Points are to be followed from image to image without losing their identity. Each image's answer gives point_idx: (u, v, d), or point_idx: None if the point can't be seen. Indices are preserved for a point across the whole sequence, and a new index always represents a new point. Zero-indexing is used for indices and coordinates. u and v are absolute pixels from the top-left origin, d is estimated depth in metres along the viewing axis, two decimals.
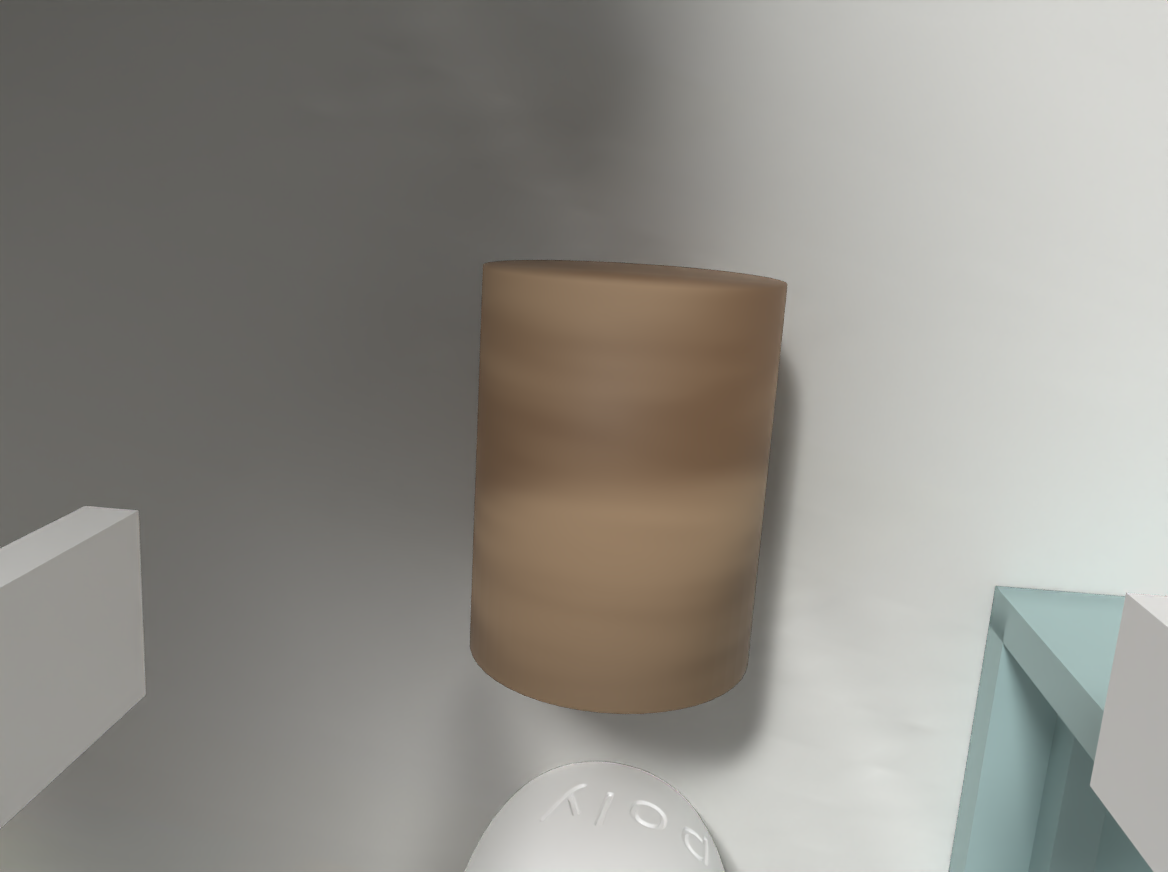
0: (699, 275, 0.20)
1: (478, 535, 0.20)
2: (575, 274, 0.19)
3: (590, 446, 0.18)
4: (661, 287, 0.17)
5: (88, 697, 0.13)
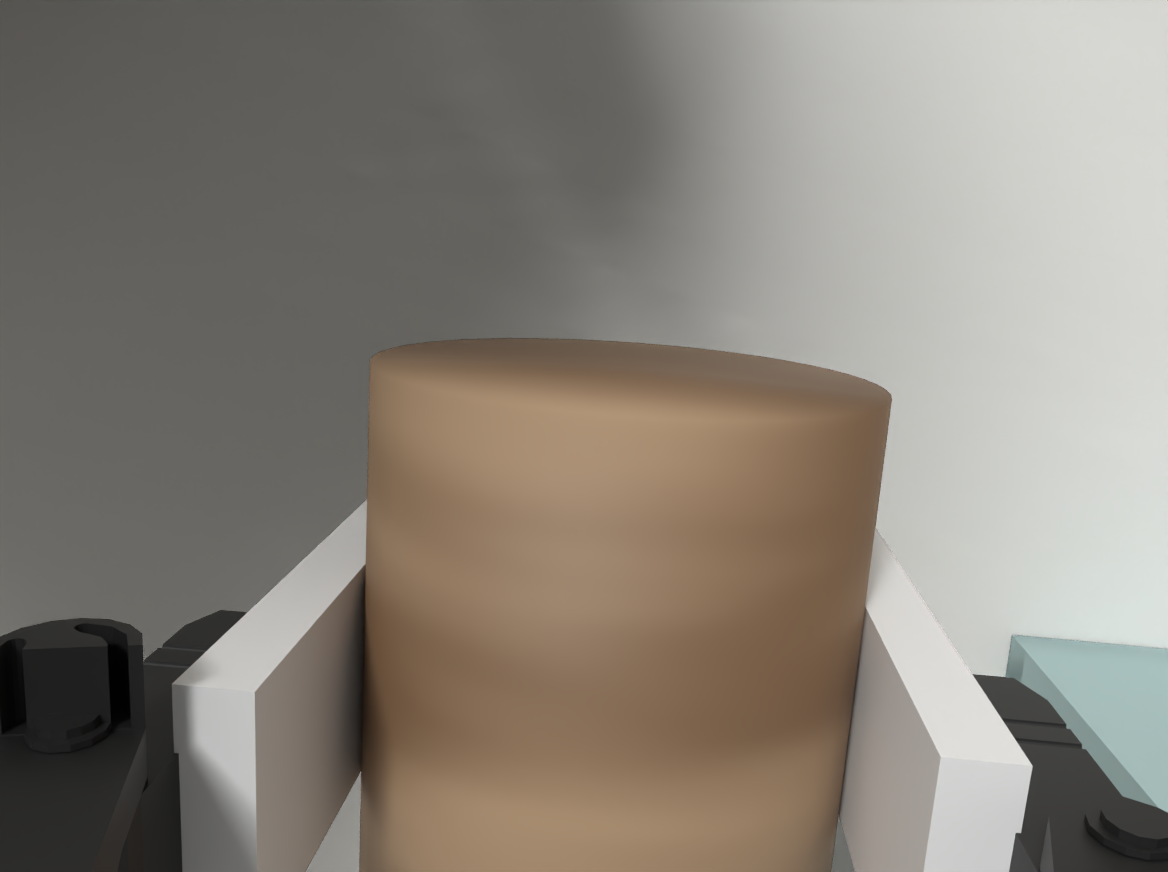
0: (737, 373, 0.12)
1: (363, 809, 0.12)
2: (524, 380, 0.11)
3: (543, 704, 0.10)
4: (677, 419, 0.09)
5: None
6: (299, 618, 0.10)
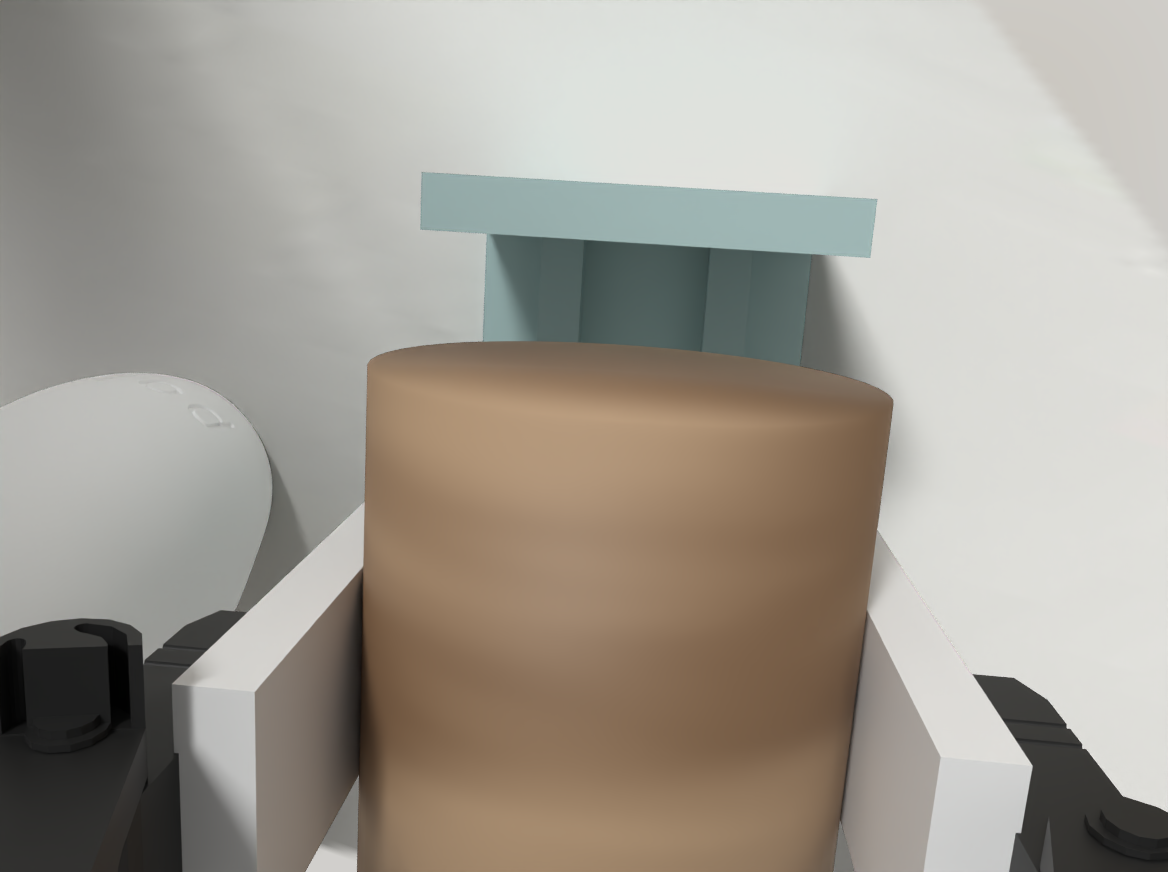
0: (737, 377, 0.12)
1: (360, 816, 0.12)
2: (522, 384, 0.11)
3: (541, 713, 0.10)
4: (677, 424, 0.09)
5: None
6: (299, 618, 0.10)
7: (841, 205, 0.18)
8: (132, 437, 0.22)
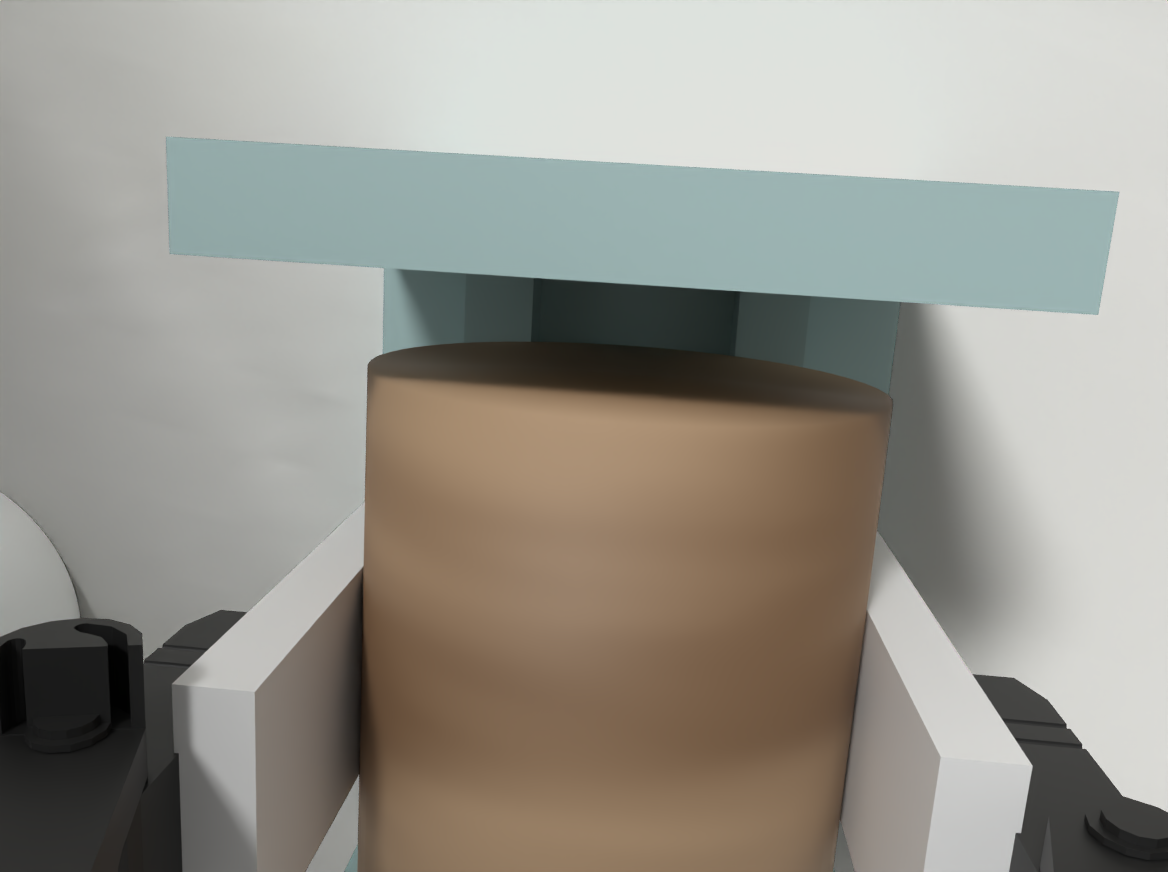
0: (737, 377, 0.12)
1: (361, 817, 0.12)
2: (523, 385, 0.11)
3: (541, 713, 0.10)
4: (677, 425, 0.09)
5: None
6: (299, 618, 0.10)
7: (1040, 205, 0.08)
8: None
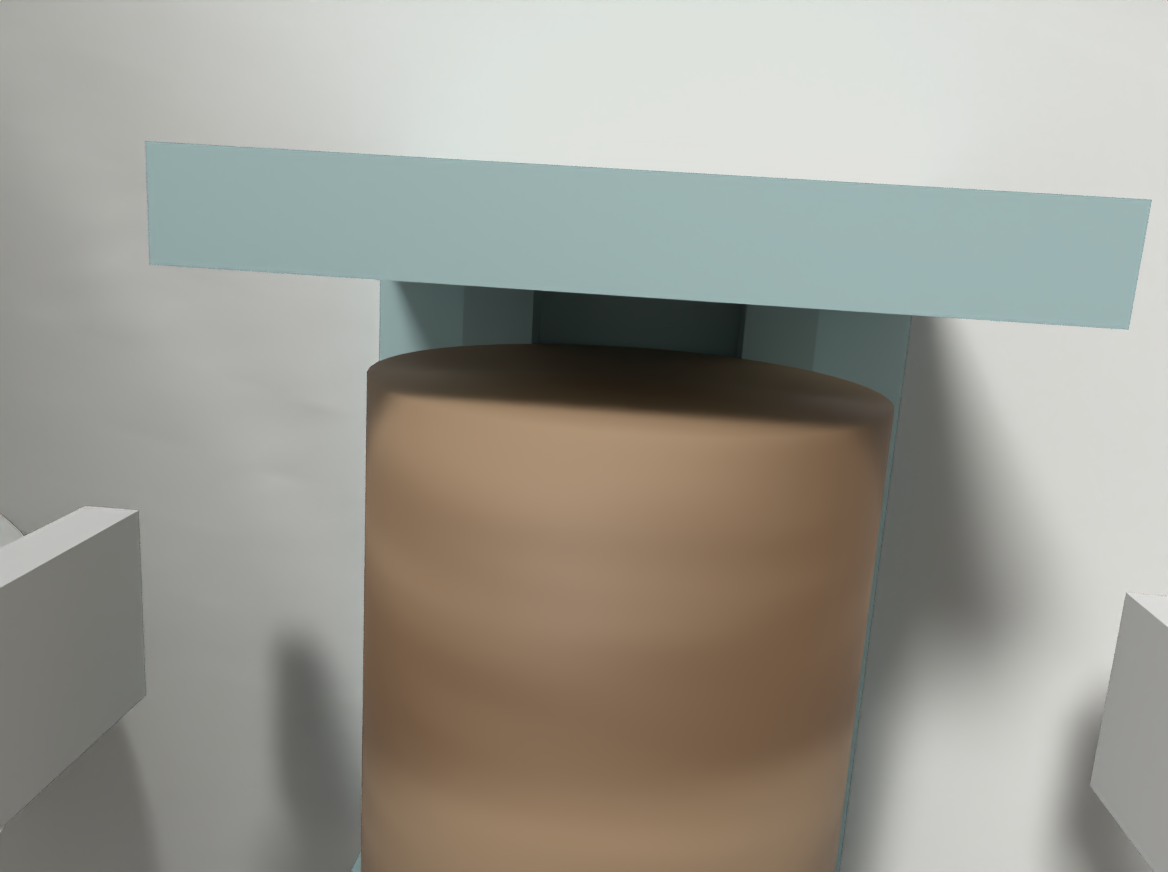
0: (738, 381, 0.12)
1: (363, 821, 0.12)
2: (522, 393, 0.11)
3: (541, 723, 0.10)
4: (675, 436, 0.09)
5: (88, 697, 0.13)
6: None
7: (1068, 213, 0.08)
8: None
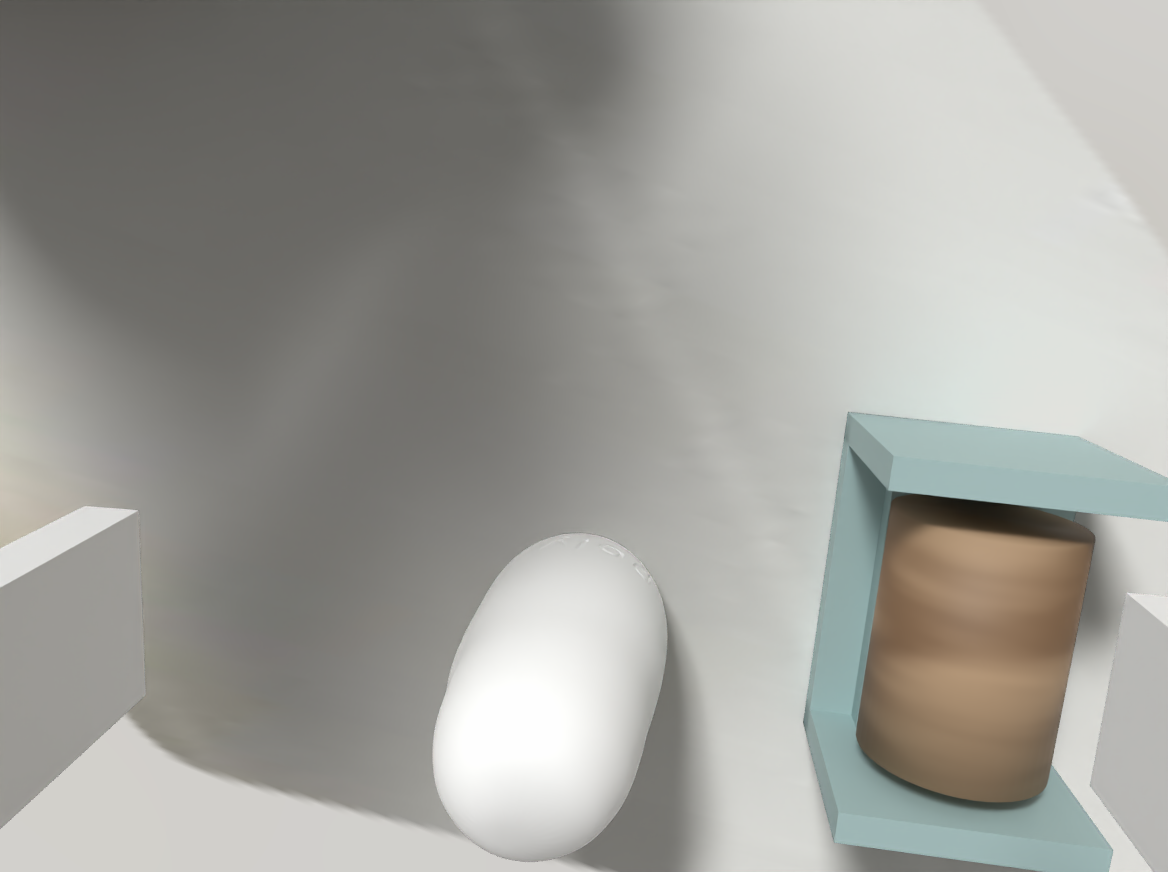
0: (1027, 519, 0.32)
1: (884, 680, 0.32)
2: (967, 525, 0.30)
3: (985, 637, 0.29)
4: (1038, 546, 0.29)
5: (88, 697, 0.13)
6: None
7: (1166, 490, 0.28)
8: (627, 596, 0.33)
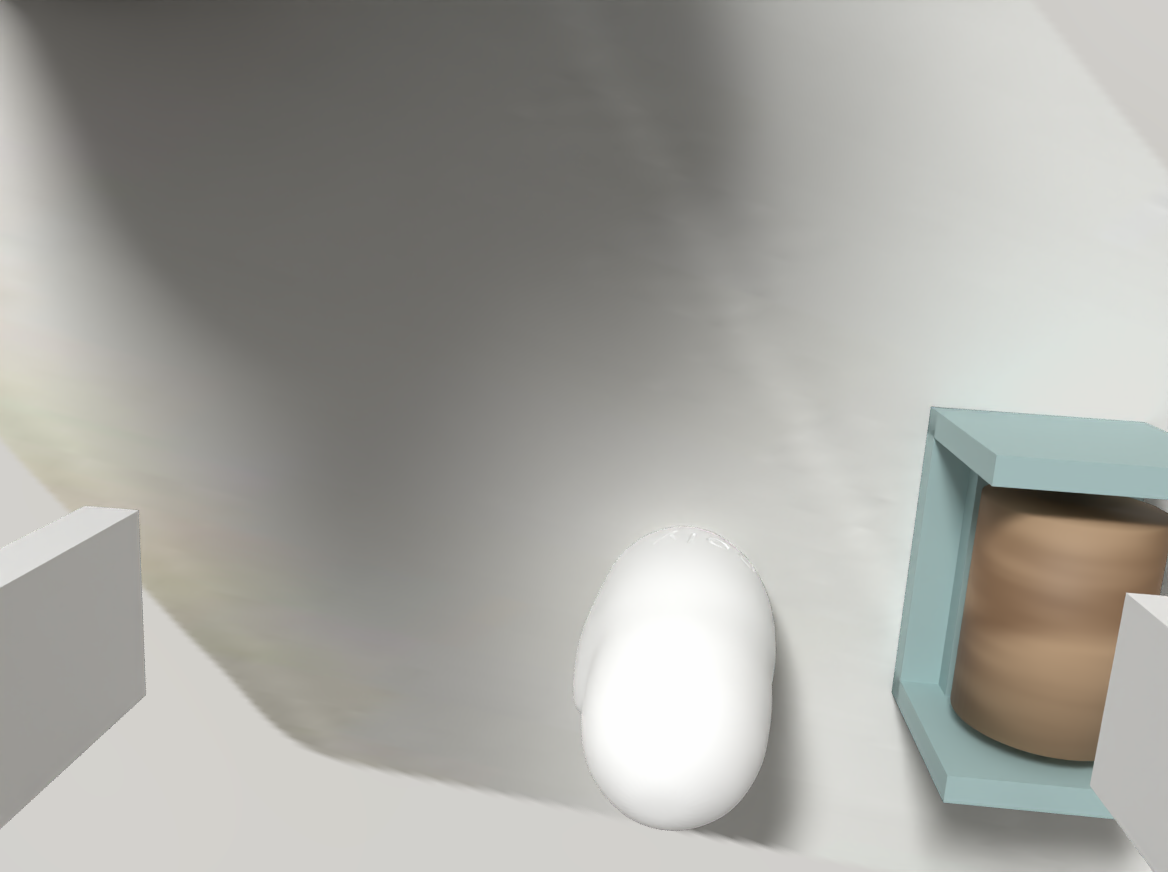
0: (1108, 503, 0.35)
1: (981, 655, 0.35)
2: (1057, 512, 0.33)
3: (1078, 614, 0.32)
4: (1127, 531, 0.32)
5: (88, 697, 0.13)
6: None
7: None
8: (743, 586, 0.36)
